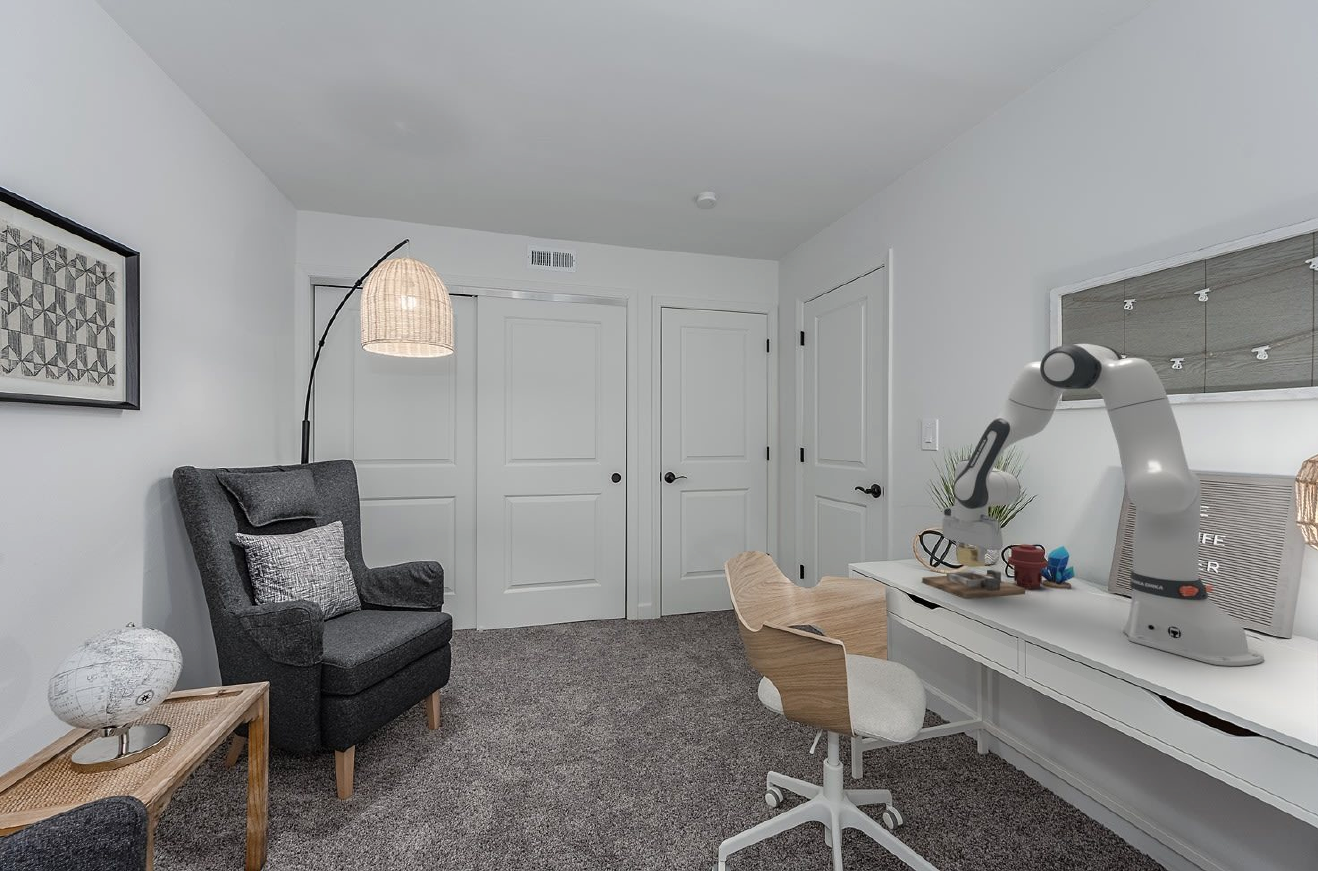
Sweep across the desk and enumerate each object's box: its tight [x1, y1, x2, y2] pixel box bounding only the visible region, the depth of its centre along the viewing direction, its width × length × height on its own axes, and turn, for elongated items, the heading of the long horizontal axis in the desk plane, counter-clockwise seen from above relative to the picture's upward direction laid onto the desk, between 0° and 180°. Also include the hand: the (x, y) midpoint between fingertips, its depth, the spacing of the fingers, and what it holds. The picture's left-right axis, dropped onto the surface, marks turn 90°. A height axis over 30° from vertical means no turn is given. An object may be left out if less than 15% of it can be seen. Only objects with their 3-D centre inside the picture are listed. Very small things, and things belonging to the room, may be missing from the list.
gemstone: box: [1041, 545, 1075, 589], centre depth 172 cm, size 7×9×12 cm
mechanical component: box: [1007, 543, 1048, 590], centre depth 171 cm, size 12×10×10 cm
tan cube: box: [957, 545, 986, 568], centre depth 171 cm, size 5×5×5 cm
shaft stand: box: [921, 569, 1026, 599], centre depth 171 cm, size 18×20×4 cm
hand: (971, 559), depth 171 cm, fingers closed on tan cube, 5 cm apart
